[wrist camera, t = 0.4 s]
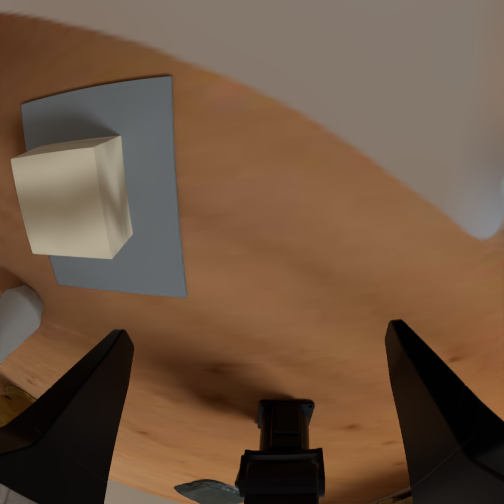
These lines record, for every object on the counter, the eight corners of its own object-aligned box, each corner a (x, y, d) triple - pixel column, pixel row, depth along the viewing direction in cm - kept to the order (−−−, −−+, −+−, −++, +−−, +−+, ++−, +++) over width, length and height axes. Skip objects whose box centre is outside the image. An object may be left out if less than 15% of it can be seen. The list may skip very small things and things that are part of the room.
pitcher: (-16, 379, 44) (-61, 470, 22) (24, 372, 40) (-31, 493, 18) (38, 428, 52) (8, 516, 30) (88, 429, 48) (56, 540, 26)
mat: (187, 295, 28) (186, 297, 27) (59, 282, 28) (58, 284, 28) (172, 76, 19) (170, 76, 19) (23, 103, 20) (21, 104, 19)
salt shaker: (16, 308, 32) (-39, 381, 20) (9, 272, 29) (-58, 345, 17) (52, 325, 32) (-2, 406, 21) (46, 288, 29) (-21, 373, 18)
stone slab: (169, 469, 52) (167, 477, 50) (253, 482, 52) (252, 490, 50) (177, 497, 63) (176, 503, 62) (242, 507, 63) (241, 513, 62)
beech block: (132, 233, 25) (112, 259, 21) (57, 231, 25) (32, 253, 22) (121, 135, 21) (93, 147, 17) (41, 145, 21) (10, 158, 18)
